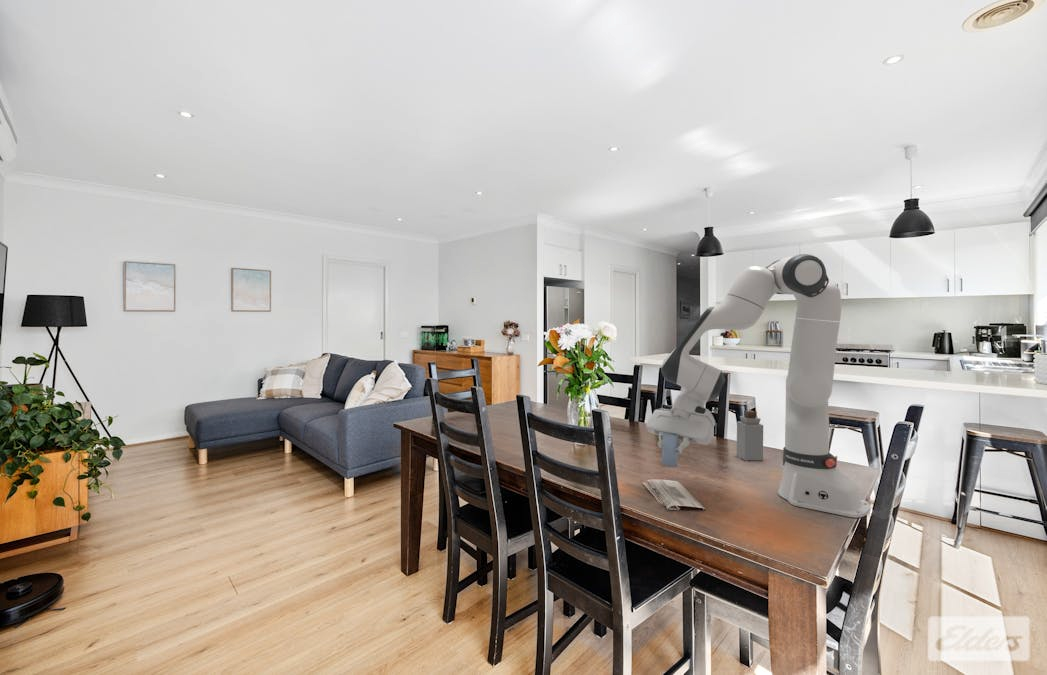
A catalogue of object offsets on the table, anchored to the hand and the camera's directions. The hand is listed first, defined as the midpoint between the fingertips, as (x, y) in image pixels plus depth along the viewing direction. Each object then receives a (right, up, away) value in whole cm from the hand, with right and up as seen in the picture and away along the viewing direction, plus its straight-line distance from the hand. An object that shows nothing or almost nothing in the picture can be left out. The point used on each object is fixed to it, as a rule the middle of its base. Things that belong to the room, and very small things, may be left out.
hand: (669, 449), depth 138 cm
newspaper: (+1, -15, +1) cm, 15 cm away
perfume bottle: (+43, -13, +38) cm, 59 cm away
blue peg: (0, -5, +1) cm, 5 cm away
